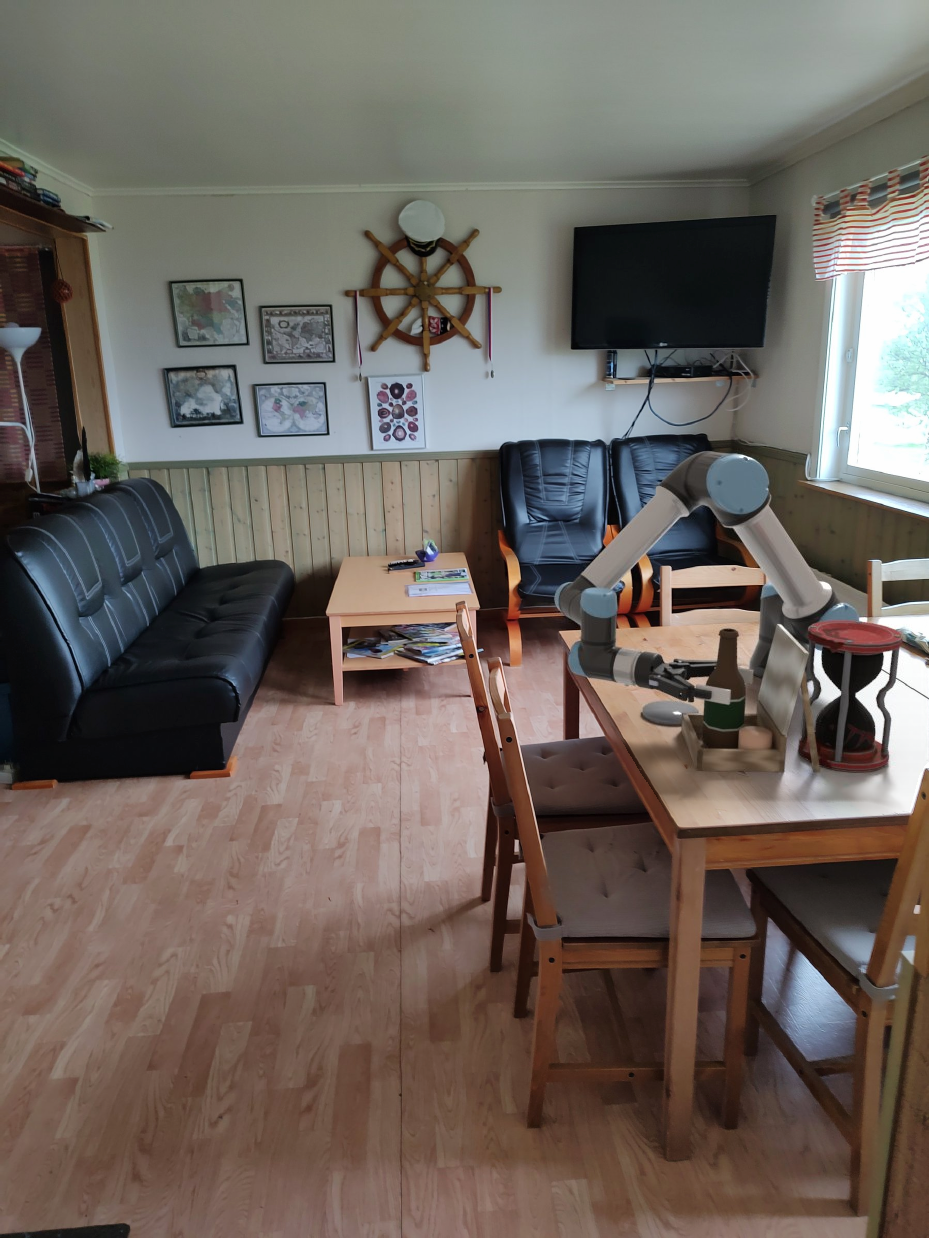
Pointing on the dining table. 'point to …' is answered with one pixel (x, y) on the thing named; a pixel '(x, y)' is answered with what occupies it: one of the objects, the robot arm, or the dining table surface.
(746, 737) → the tan rounded block
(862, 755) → the hourglass
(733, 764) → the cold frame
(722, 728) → the beer bottle
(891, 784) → the dining table surface
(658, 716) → the coaster
